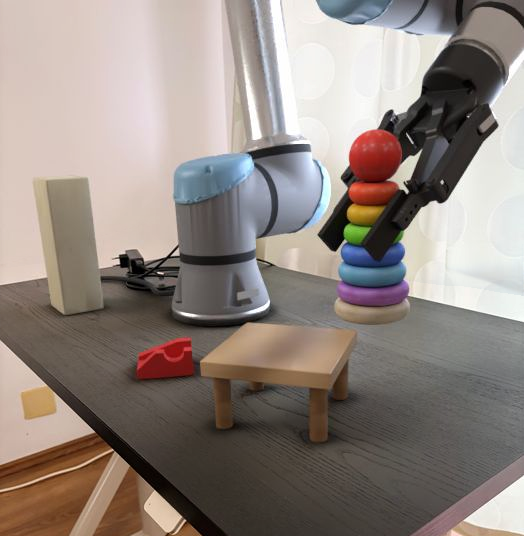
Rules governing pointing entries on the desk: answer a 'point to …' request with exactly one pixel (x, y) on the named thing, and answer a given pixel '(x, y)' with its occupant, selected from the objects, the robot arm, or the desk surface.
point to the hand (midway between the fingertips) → (347, 247)
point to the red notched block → (166, 360)
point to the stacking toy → (362, 219)
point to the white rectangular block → (68, 243)
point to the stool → (282, 366)
